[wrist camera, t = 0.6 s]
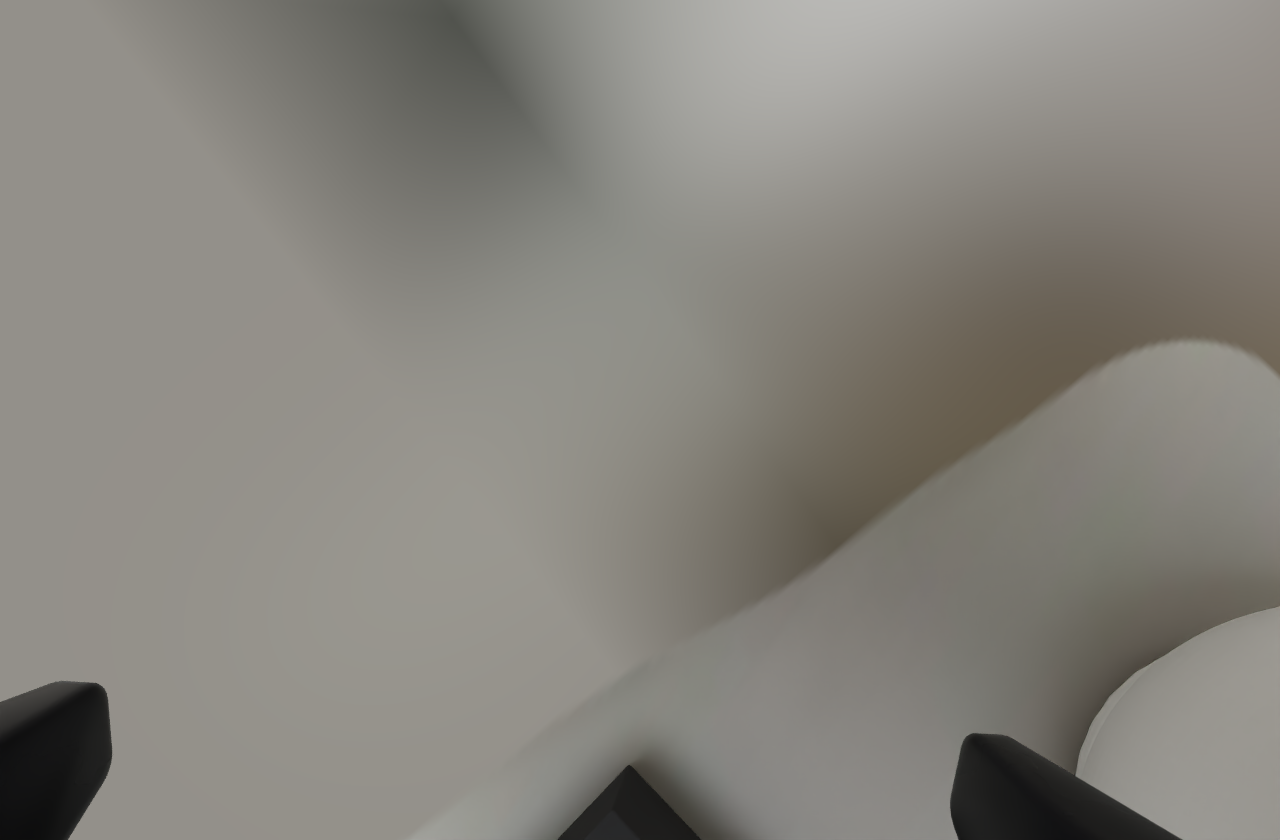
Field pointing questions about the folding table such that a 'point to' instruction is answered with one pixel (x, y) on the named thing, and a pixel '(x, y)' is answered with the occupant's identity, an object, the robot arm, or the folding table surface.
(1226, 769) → the vase
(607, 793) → the black block
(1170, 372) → the folding table surface
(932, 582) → the folding table surface
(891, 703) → the folding table surface
